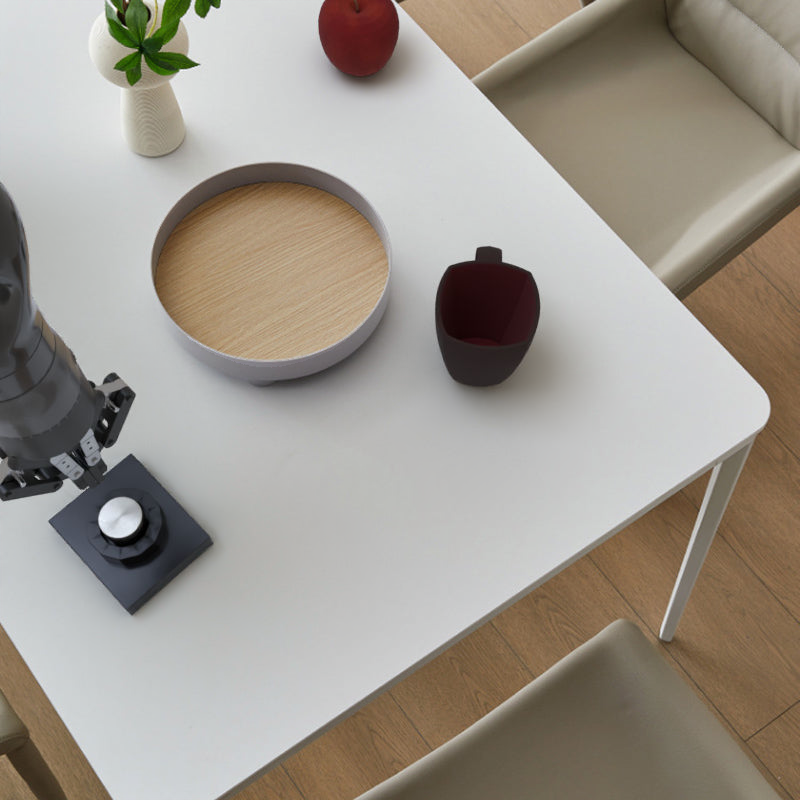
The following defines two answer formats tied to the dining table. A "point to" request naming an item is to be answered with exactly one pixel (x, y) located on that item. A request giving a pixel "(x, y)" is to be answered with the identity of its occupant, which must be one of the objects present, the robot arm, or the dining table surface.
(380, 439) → the dining table surface
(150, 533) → the control block
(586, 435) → the dining table surface
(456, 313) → the cup
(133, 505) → the button
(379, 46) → the apple
